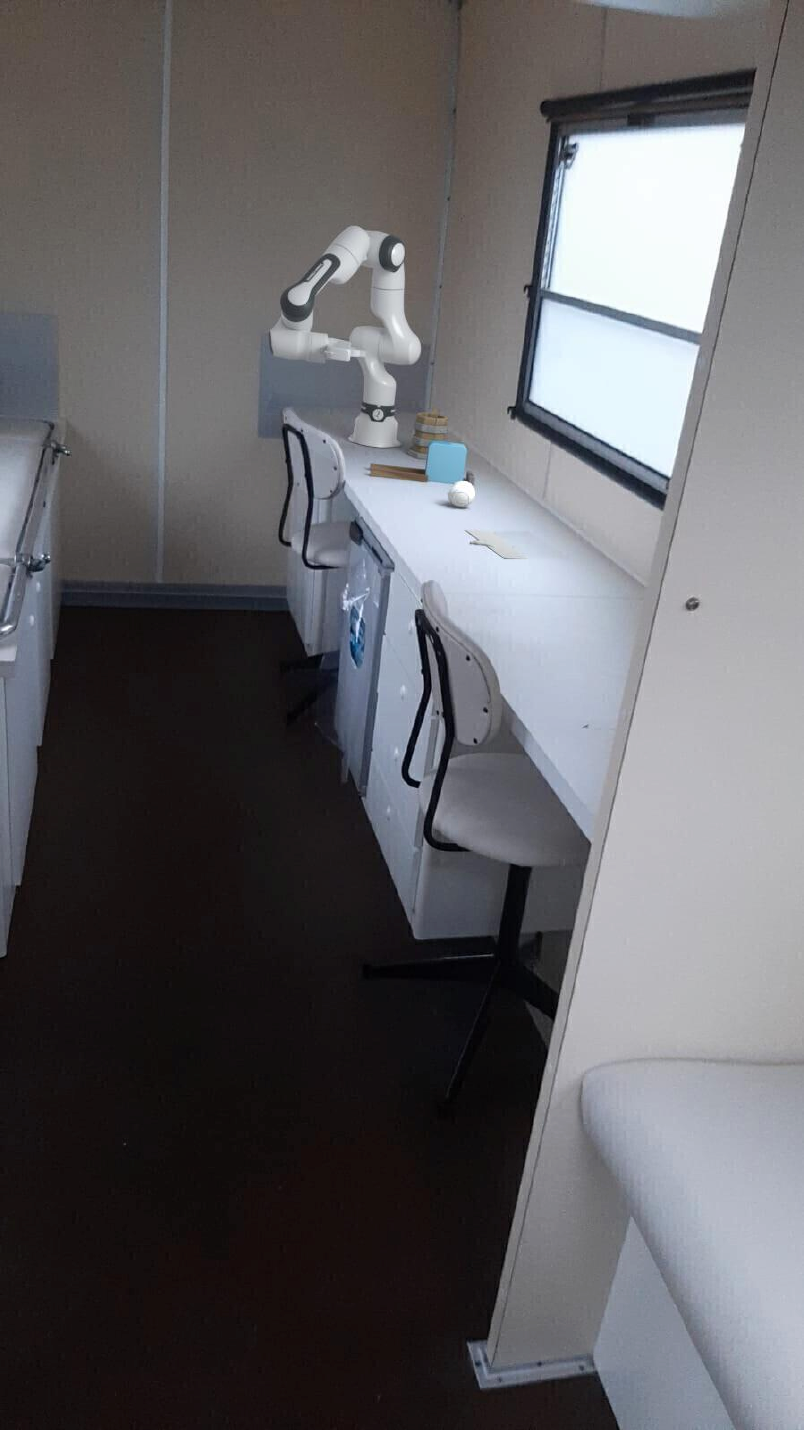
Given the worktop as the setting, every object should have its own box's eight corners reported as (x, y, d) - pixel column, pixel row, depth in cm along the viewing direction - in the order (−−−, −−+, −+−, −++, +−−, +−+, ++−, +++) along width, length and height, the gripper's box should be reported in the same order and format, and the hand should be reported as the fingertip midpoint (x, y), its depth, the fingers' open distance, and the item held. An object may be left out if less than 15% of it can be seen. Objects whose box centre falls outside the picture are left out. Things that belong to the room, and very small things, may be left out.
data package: (461, 481, 362) (466, 444, 357) (462, 485, 357) (467, 447, 353) (424, 477, 361) (428, 439, 356) (424, 480, 357) (429, 442, 352)
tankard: (442, 462, 385) (448, 418, 379) (406, 457, 386) (411, 412, 380) (449, 452, 403) (455, 409, 397) (415, 446, 405) (420, 404, 398)
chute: (370, 469, 362) (370, 459, 361) (470, 480, 365) (471, 471, 364) (370, 476, 353) (371, 466, 352) (473, 487, 356) (474, 478, 355)
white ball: (454, 502, 336) (458, 476, 332) (477, 507, 332) (481, 481, 329) (441, 506, 329) (445, 479, 326) (464, 512, 326) (468, 485, 323)
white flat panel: (451, 531, 306) (452, 527, 306) (528, 534, 315) (528, 530, 315) (489, 560, 285) (490, 555, 285) (570, 562, 294) (571, 558, 294)
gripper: (320, 341, 337) (366, 347, 338) (322, 333, 356) (366, 339, 357) (318, 363, 340) (364, 368, 341) (320, 354, 359) (364, 359, 360)
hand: (365, 353), depth 349 cm, fingers closed
